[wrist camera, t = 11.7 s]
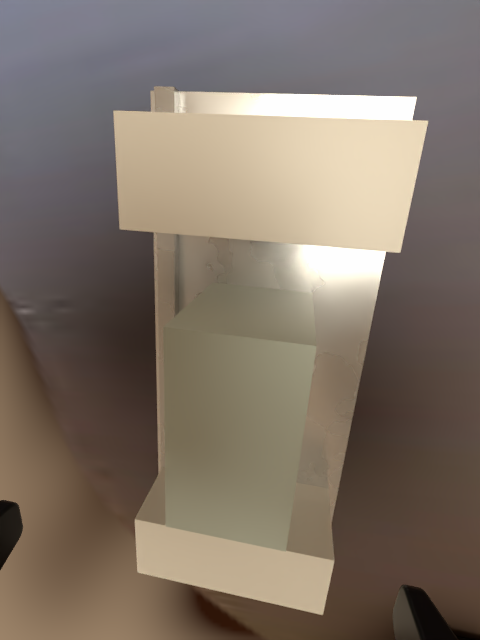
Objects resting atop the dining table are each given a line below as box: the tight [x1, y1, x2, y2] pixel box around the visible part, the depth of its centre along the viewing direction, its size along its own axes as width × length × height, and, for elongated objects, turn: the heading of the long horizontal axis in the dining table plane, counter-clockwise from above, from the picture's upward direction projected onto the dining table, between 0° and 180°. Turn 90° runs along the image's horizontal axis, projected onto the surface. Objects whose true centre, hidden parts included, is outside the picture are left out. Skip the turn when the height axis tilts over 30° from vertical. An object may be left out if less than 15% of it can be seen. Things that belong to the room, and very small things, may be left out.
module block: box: [163, 282, 317, 552], centre depth 14 cm, size 4×8×6 cm, turn 176°
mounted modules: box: [114, 111, 428, 615], centre depth 15 cm, size 20×9×4 cm, turn 176°
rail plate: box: [151, 87, 416, 523], centre depth 17 cm, size 23×10×2 cm, turn 176°
